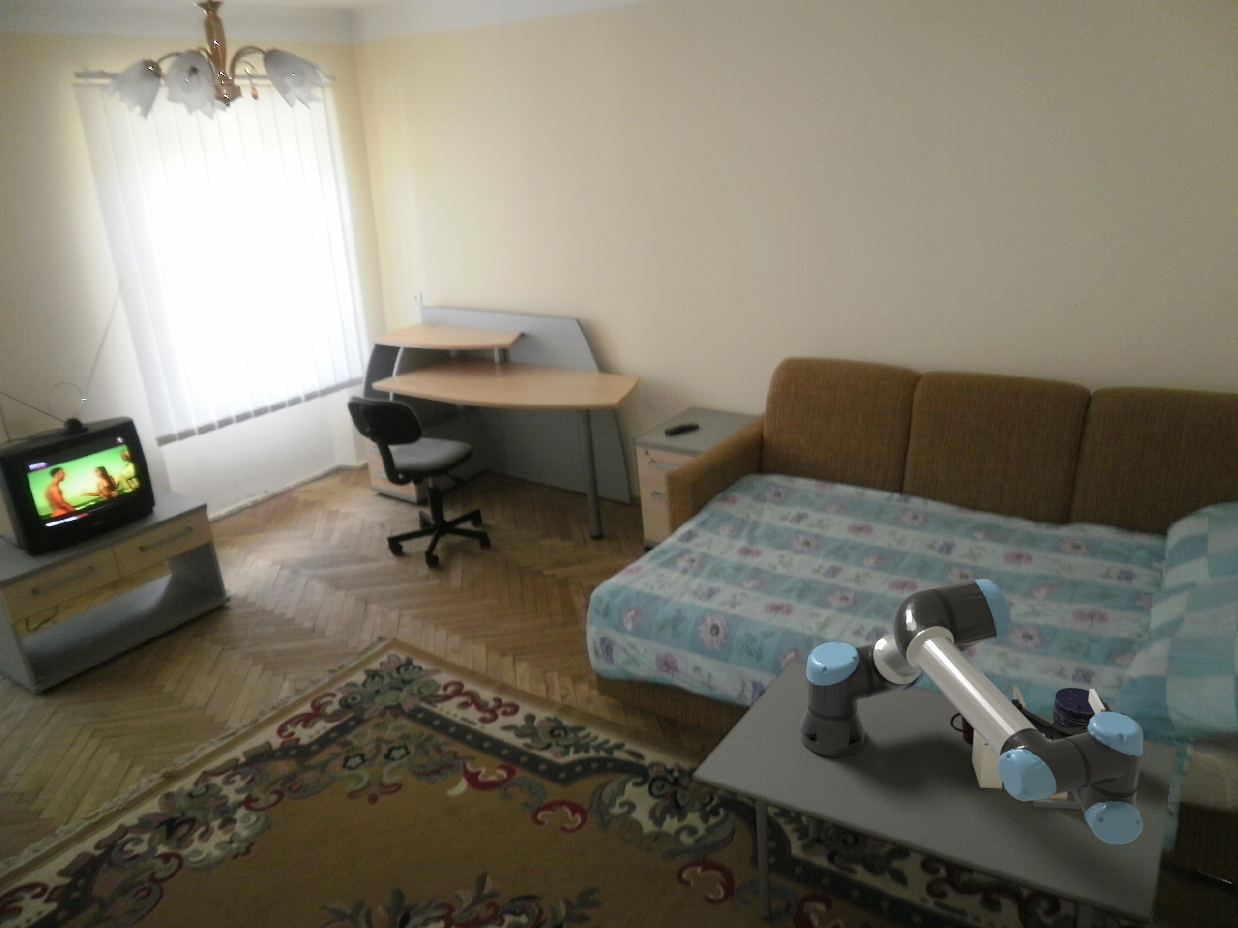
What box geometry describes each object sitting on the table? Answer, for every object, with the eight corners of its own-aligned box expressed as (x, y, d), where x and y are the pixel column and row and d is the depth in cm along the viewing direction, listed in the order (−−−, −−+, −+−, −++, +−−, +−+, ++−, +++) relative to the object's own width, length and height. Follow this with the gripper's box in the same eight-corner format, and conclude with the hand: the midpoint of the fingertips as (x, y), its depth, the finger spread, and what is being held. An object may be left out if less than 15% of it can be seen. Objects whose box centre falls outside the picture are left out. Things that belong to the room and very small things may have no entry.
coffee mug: (991, 727, 214) (993, 691, 210) (1002, 749, 205) (1005, 713, 202) (940, 727, 215) (942, 691, 212) (949, 749, 207) (952, 713, 203)
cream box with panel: (980, 787, 194) (983, 744, 191) (972, 760, 203) (974, 718, 199) (1001, 788, 194) (1005, 745, 190) (992, 761, 202) (996, 719, 198)
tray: (1034, 806, 188) (1034, 801, 187) (1023, 778, 196) (1023, 772, 196) (1080, 809, 186) (1080, 803, 186) (1067, 780, 194) (1068, 775, 194)
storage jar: (1050, 738, 208) (1055, 683, 203) (1097, 748, 204) (1104, 692, 199) (1047, 764, 200) (1053, 707, 195) (1097, 775, 195) (1104, 717, 190)
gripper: (1008, 779, 155) (983, 707, 175) (1165, 787, 151) (1121, 712, 170) (1011, 743, 153) (985, 674, 173) (1170, 750, 148) (1125, 679, 168)
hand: (1052, 693), depth 172 cm, fingers open, 13 cm apart
